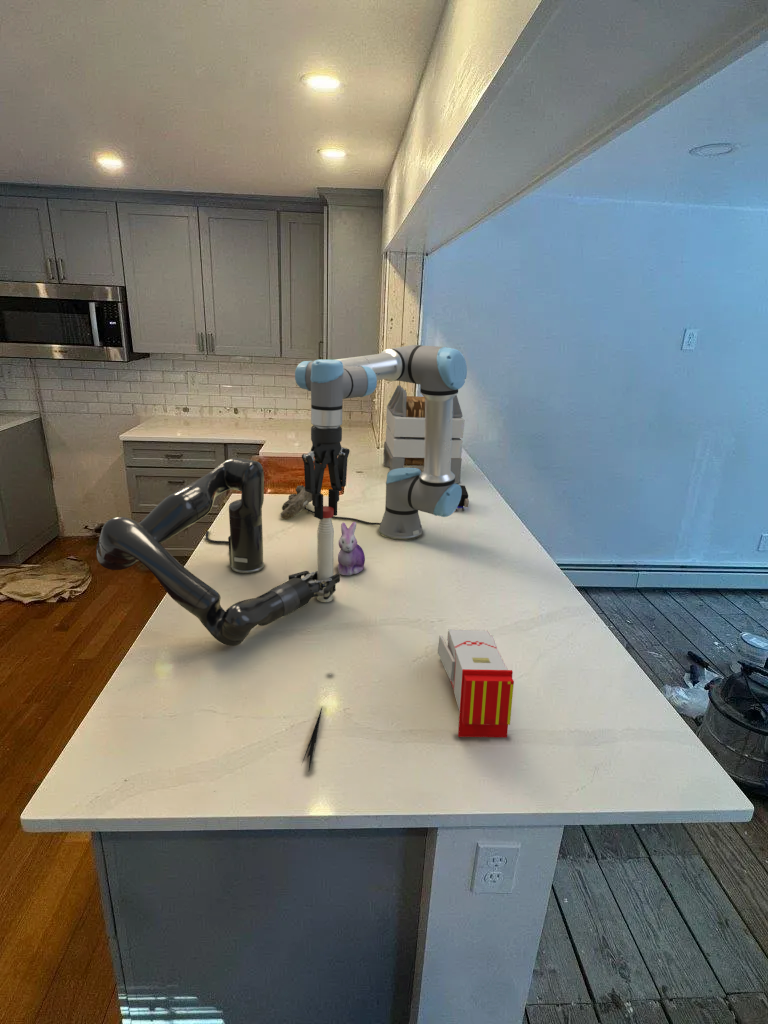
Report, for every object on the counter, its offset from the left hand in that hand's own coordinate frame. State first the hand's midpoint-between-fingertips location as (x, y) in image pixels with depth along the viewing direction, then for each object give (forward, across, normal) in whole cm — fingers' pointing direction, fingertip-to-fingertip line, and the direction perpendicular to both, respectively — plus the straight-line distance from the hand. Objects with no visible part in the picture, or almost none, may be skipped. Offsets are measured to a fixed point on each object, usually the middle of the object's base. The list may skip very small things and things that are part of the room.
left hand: (331, 574), depth 154 cm
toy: (-14, +50, -6) cm, 52 cm away
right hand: (-3, 0, +18) cm, 18 cm away
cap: (-3, 0, +19) cm, 20 cm away
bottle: (-3, 0, -6) cm, 7 cm away
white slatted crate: (+121, -47, -6) cm, 130 cm away
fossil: (+43, -52, -6) cm, 68 cm away
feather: (-40, +30, -6) cm, 50 cm away
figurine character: (+90, -9, -6) cm, 90 cm away
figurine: (+16, -6, -6) cm, 18 cm away
